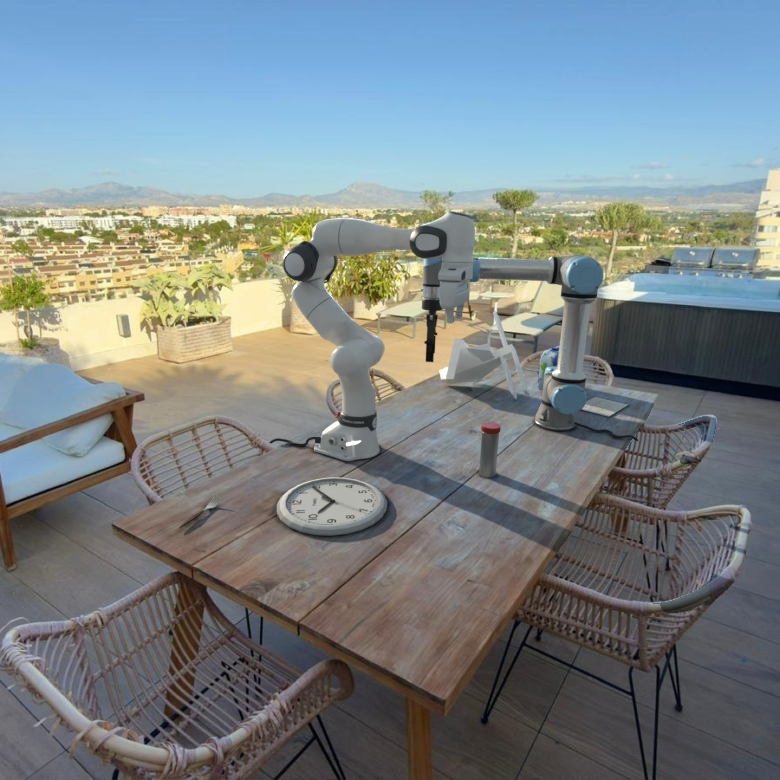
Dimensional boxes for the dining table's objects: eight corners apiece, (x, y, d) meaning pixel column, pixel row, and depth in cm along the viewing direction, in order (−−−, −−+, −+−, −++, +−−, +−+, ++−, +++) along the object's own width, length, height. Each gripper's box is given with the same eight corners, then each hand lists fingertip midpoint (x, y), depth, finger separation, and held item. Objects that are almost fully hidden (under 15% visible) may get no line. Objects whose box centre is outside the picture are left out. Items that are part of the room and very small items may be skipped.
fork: (174, 529, 130) (174, 521, 130) (216, 499, 144) (215, 492, 144) (183, 531, 129) (182, 524, 129) (223, 501, 144) (223, 494, 143)
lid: (486, 434, 155) (486, 429, 155) (478, 428, 160) (478, 422, 160) (503, 433, 156) (503, 427, 156) (495, 426, 162) (495, 421, 161)
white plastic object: (461, 429, 252) (437, 405, 227) (444, 352, 274) (420, 323, 250) (535, 404, 240) (518, 377, 215) (510, 326, 262) (492, 293, 237)
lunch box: (554, 397, 237) (559, 352, 231) (533, 392, 244) (538, 348, 238) (581, 386, 255) (586, 344, 248) (560, 381, 262) (565, 340, 256)
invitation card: (608, 416, 214) (573, 407, 224) (608, 416, 214) (573, 408, 224) (628, 404, 229) (594, 396, 238) (628, 405, 229) (594, 397, 238)
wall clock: (392, 527, 129) (268, 531, 127) (391, 533, 130) (269, 537, 127) (383, 473, 158) (282, 475, 155) (383, 478, 158) (282, 480, 156)
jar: (483, 478, 160) (486, 430, 155) (476, 471, 164) (479, 424, 160) (498, 476, 161) (502, 428, 156) (491, 469, 166) (495, 423, 161)
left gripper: (455, 269, 159) (453, 314, 163) (436, 274, 141) (434, 325, 145) (476, 270, 157) (473, 316, 161) (459, 275, 138) (456, 327, 143)
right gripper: (424, 293, 195) (422, 349, 202) (419, 302, 172) (417, 365, 178) (444, 294, 195) (441, 350, 201) (442, 303, 171) (439, 366, 177)
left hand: (454, 320), depth 153 cm, fingers open, 8 cm apart
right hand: (430, 357), depth 190 cm, fingers open, 13 cm apart
